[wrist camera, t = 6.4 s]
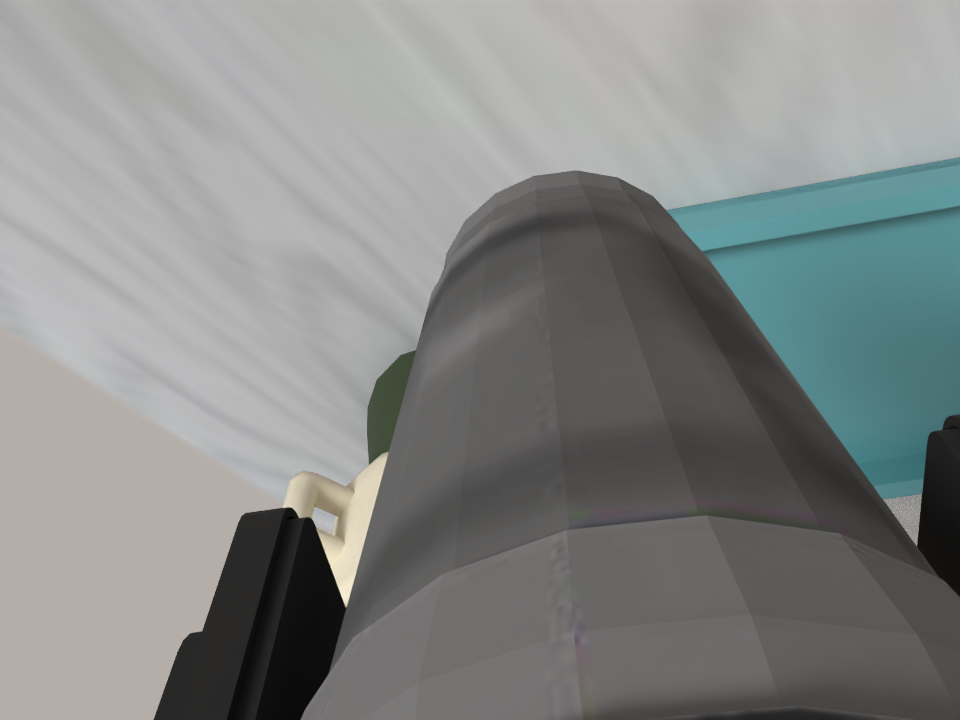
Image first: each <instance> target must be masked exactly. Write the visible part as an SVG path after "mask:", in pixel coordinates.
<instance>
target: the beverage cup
mask: <svg viewBox="0 0 960 720" xmlns="http://www.w3.org/2000/svg"><path fill="white" fill-rule="evenodd" d="M301 720H960V597H959V596H958V595H957V594H956V593H955V592H954V591H953V589H952V588H951V587H950V586H949V585H948V584H947V583H946V582H945V581H944V580H942V579H940V578H939V577H938V575H937V574H936V573H935V571H934V570H933V568H932V567H931V566H930V564H929V563H928V561H927V560H926V559H925V557H924V556H923V555H922V553H921V552H920V550H919V549H918V548H917V546H916V545H915V543H914V542H913V541H912V539H911V538H910V537H909V535H908V534H907V532H906V531H905V530H904V528H903V527H902V525H901V524H900V523H899V521H898V520H897V519H896V517H895V516H894V514H893V513H892V512H891V510H890V509H889V507H888V506H887V505H886V503H885V502H884V501H883V499H882V498H881V496H880V495H879V494H878V492H877V491H876V489H875V488H874V487H873V485H872V484H871V483H870V481H869V480H868V478H867V477H866V476H865V474H864V473H863V471H862V470H861V469H860V467H859V466H858V465H857V463H856V462H855V460H854V459H853V458H852V456H851V455H850V453H849V452H848V451H847V449H846V448H845V447H844V445H843V444H842V442H841V441H840V440H839V438H838V437H837V435H836V434H835V433H834V431H833V430H832V429H831V427H830V426H829V424H828V423H827V422H826V420H825V419H824V417H823V416H822V415H821V413H820V412H819V411H818V409H817V408H816V406H815V405H814V404H813V402H812V401H811V399H810V398H809V397H808V395H807V394H806V393H805V391H804V390H803V388H802V387H801V386H800V384H799V383H798V382H797V380H796V379H795V377H794V376H793V375H792V373H791V372H790V370H789V369H788V368H787V366H786V365H785V364H784V362H783V361H782V359H781V358H780V357H779V355H778V354H777V352H776V351H775V350H774V348H773V347H772V346H771V344H770V343H769V341H768V340H767V339H766V337H765V336H764V334H763V333H762V332H761V330H760V329H759V328H758V326H757V325H756V323H755V322H754V321H753V319H752V318H751V316H750V315H749V314H748V312H747V311H746V310H745V308H744V307H743V305H742V304H741V303H740V301H739V300H738V298H737V297H736V296H735V294H734V293H733V292H732V290H731V289H730V287H729V286H728V285H727V283H726V282H725V280H724V279H723V278H722V276H721V275H720V274H719V272H718V271H717V269H716V268H715V267H714V265H713V264H712V262H711V261H710V260H709V258H708V257H707V256H706V255H705V254H704V253H703V252H702V251H701V250H700V249H699V247H698V246H697V245H696V244H695V243H694V242H693V241H692V240H691V239H690V238H689V237H688V235H687V234H686V233H685V232H684V231H683V230H682V229H681V228H680V226H679V224H678V223H677V222H676V221H675V220H674V219H673V218H672V216H671V215H670V214H669V213H668V212H667V211H666V210H665V209H664V208H663V207H662V206H661V204H660V203H659V202H658V201H657V200H656V199H655V198H654V197H653V196H651V195H650V194H648V193H646V192H644V191H642V190H640V189H638V188H636V187H634V186H633V185H631V184H629V183H627V182H625V181H623V180H621V179H619V178H617V177H611V176H605V175H600V174H594V173H588V172H582V171H569V172H561V173H554V174H546V175H538V176H533V177H531V178H529V179H526V180H524V181H522V182H520V183H518V184H515V185H513V186H511V187H509V188H507V189H504V190H502V191H500V192H498V193H496V194H494V195H493V196H492V197H491V198H490V199H489V200H488V201H487V202H486V203H484V204H483V205H482V206H481V207H480V208H479V209H478V210H477V211H476V212H474V213H473V214H472V215H471V216H470V217H469V218H468V219H467V220H466V221H465V222H464V224H463V226H462V227H461V229H460V231H459V233H458V234H457V236H456V238H455V240H454V242H453V243H452V245H451V247H450V249H449V250H448V252H447V254H446V260H445V265H444V270H443V272H442V274H441V277H440V279H439V281H438V283H437V285H436V286H435V288H434V290H433V292H432V294H431V298H430V301H429V305H428V309H427V312H426V316H425V320H424V323H423V327H422V331H421V335H420V338H419V342H418V346H417V349H416V353H415V357H414V360H413V364H412V368H411V372H410V375H409V379H408V383H407V386H406V390H405V394H404V397H403V401H402V405H401V408H400V412H399V416H398V420H397V423H396V427H395V431H394V434H393V438H392V442H391V445H390V449H389V453H388V457H387V460H386V464H385V468H384V471H383V475H382V479H381V482H380V486H379V490H378V494H377V497H376V501H375V505H374V508H373V512H372V516H371V519H370V523H369V527H368V531H367V534H366V538H365V542H364V545H363V549H362V553H361V556H360V560H359V564H358V567H357V571H356V575H355V579H354V582H353V586H352V590H351V593H350V597H349V601H348V604H347V608H346V612H345V616H344V619H343V623H342V627H341V630H340V634H339V638H338V641H337V645H336V649H335V653H334V656H333V660H332V664H331V667H330V671H329V675H328V676H327V678H326V679H325V681H324V682H323V684H322V685H321V687H320V688H319V690H318V691H317V693H316V694H315V696H314V697H313V698H312V700H311V701H310V703H309V704H308V706H307V707H306V709H305V711H304V713H303V716H302V718H301Z"/></svg>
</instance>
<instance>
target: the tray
mask: <svg viewBox="0 0 960 720" xmlns="http://www.w3.org/2000/svg"><path fill="white" fill-rule="evenodd" d="M666 211H667V212H668V213H669V214H670V215H671V216H672V218H673V219H674V220H675V221H676V222H677V223H678V224H679V226H680V228H681V229H682V230H683V231H684V232H685V233H686V234H687V235H688V237H689V238H690V239H691V240H692V241H693V242H694V243H695V244H696V245H697V246H698V247H699V249H700V250H701V251H702V252H703V253H704V254H705V255H706V256H707V257H708V258H709V260H710V261H711V262H712V264H713V265H714V267H715V268H716V269H717V271H718V272H719V274H720V275H721V276H722V278H723V279H724V280H725V282H726V283H727V285H728V286H729V287H730V289H731V290H732V292H733V293H734V294H735V296H736V297H737V298H738V300H739V301H740V303H741V304H742V305H743V307H744V308H745V310H746V311H747V312H748V314H749V315H750V316H751V318H752V319H753V321H754V322H755V323H756V325H757V326H758V328H759V329H760V330H761V332H762V333H763V334H764V336H765V337H766V339H767V340H768V341H769V343H770V344H771V346H772V347H773V348H774V350H775V351H776V352H777V354H778V355H779V357H780V358H781V359H782V361H783V362H784V364H785V365H786V366H787V368H788V369H789V370H790V372H791V373H792V375H793V376H794V377H795V379H796V380H797V382H798V383H799V384H800V386H801V387H802V388H803V390H804V391H805V393H806V394H807V395H808V397H809V398H810V399H811V401H812V402H813V404H814V405H815V406H816V408H817V409H818V411H819V412H820V413H821V415H822V416H823V417H824V419H825V420H826V422H827V423H828V424H829V426H830V427H831V429H832V430H833V431H834V433H835V434H836V435H837V437H838V438H839V440H840V441H841V442H842V444H843V445H844V447H845V448H846V449H847V451H848V452H849V453H850V455H851V456H852V458H853V459H854V460H855V462H856V463H857V465H858V466H859V467H860V469H861V470H862V471H863V473H864V474H865V476H866V477H867V478H868V480H869V481H870V483H871V484H872V485H873V487H874V488H875V489H876V491H877V492H878V494H879V495H880V496H881V498H882V499H888V498H895V497H902V496H909V495H916V494H922V491H923V481H924V470H925V460H926V449H927V441H928V436H929V434H930V433H931V432H933V431H939V430H942V428H943V424H944V421H945V420H946V418H947V417H949V416H951V415H958V414H960V158H955V159H949V160H943V161H938V162H932V163H927V164H921V165H916V166H910V167H905V168H899V169H894V170H888V171H882V172H877V173H871V174H866V175H860V176H855V177H849V178H844V179H838V180H832V181H827V182H821V183H816V184H810V185H805V186H799V187H794V188H788V189H783V190H777V191H771V192H766V193H760V194H755V195H749V196H744V197H738V198H733V199H727V200H722V201H716V202H710V203H705V204H699V205H694V206H688V207H683V208H677V209H672V210H666Z"/></svg>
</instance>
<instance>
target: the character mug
mask: <svg viewBox="0 0 960 720" xmlns="http://www.w3.org/2000/svg"><path fill="white" fill-rule="evenodd" d="M415 353H416V350H415V351H412V352H409V353H406V354H403V355H401V356H400V357H399V358H398V359H397V360H396V361H395V362H394V363H393V364H392V365H391V366H390V367H389V368H388V369H387V370H386V371H385V372H384V373H383V374H382V375H381V376H380V377H379V378H378V379H377V381H376V384H375V387H374V390H373V393H372V396H371V399H370V402H369V405H368V417H367V438H368V453H369V466H368V467H367V468H366V469H364V470H363V471H362V472H361V473H360V474H359V475H358V476H357V477H356V478H355V479H354V480H353V481H352V482H350V483H349V484H348V485H347V487H346V486H344V485H341V484H339V483H337V482H335V481H332V480H330V479H328V478H326V477H324V476H321V475H319V474H317V473H312V472H307V471H303V472H301V473H298V474H296V476H295V477H294V478H293V479H292V480H291V481H290V483H289V487H288V490H287V494H286V498H285V501H284V505H283V508H286V507H291V508H293V509H294V510H295V511H296V513H297V515H298V517H299V518H304V517H310V518H311V519H312V515H313V510H314V506H315V507H317V508H319V509H322V510H324V511H326V512H328V513H331V514H333V515H335V516H336V518H335V523H334V528H333V533H332V534H329V533H327V532H325V531H322V530H320V529H318V528H316V529H317V532H318V534H319V537H320V540H321V542H322V545H323V548H324V550H325V553H326V556H327V559H328V561H329V564H330V567H331V569H332V572H333V575H334V577H335V580H336V583H337V585H338V588H339V591H340V593H341V596H342V599H343V601H344V604H345V607H346V608H347V604H348V601H349V597H350V593H351V590H352V586H353V582H354V579H355V575H356V571H357V567H358V564H359V560H360V556H361V553H362V549H363V545H364V542H365V538H366V534H367V531H368V527H369V523H370V519H371V516H372V512H373V508H374V505H375V501H376V497H377V494H378V490H379V486H380V482H381V479H382V475H383V471H384V468H385V464H386V460H387V457H388V453H389V449H390V445H391V442H392V438H393V434H394V431H395V427H396V423H397V420H398V416H399V412H400V408H401V405H402V401H403V397H404V394H405V390H406V386H407V383H408V379H409V375H410V372H411V368H412V364H413V360H414V357H415Z"/></svg>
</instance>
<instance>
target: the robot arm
mask: <svg viewBox="0 0 960 720" xmlns="http://www.w3.org/2000/svg"><path fill="white" fill-rule="evenodd" d="M917 548H918V549H919V550H920V552H921V553H922V555H923V556H924V557H925V559H926V560H927V561H928V563H929V564H930V566H931V567H932V568H933V570H934V571H935V573H936V574H937V575H938V577H939V578H940V579H942V580H944V581H945V582H946V583H947V584H948V585H949V586H950V587H951V588H952V589H953V591H954V592H955V593H956V594H957V595H958V596H959V597H960V414H958V415H951V416H949V417H947V418H946V420H945V421H944V424H943V428H942V430H939V431H933V432H931V433H930V434H929V436H928V441H927V449H926V460H925V470H924V481H923V491H922V502H921V512H920V522H919V533H918V543H917ZM345 612H346V607H345V604H344V601H343V599H342V596H341V593H340V591H339V588H338V585H337V583H336V580H335V577H334V575H333V572H332V569H331V567H330V564H329V561H328V559H327V556H326V553H325V550H324V548H323V545H322V542H321V540H320V537H319V534H318V532H317V529H316V526H315V524H314V522H313V520H312V519H311V518H310V517H304V518H299V517H298V515H297V513H296V511H295V510H294V509H293V508H291V507H286V508H279V509H272V510H265V511H257V512H251V513H245V514H244V515H243V516H242V517H241V519H240V521H239V523H238V526H237V529H236V532H235V535H234V538H233V541H232V544H231V547H230V550H229V553H228V556H227V559H226V562H225V565H224V568H223V571H222V574H221V577H220V580H219V583H218V586H217V589H216V592H215V595H214V598H213V601H212V604H211V607H210V610H209V613H208V616H207V619H206V622H205V625H204V628H203V631H202V632H195V633H191V634H189V635H188V636H187V637H186V638H185V639H184V640H183V642H182V644H181V646H180V648H179V651H178V652H177V656H176V658H175V661H174V664H173V667H172V670H171V672H170V675H169V678H168V681H167V684H166V686H165V689H164V692H163V695H162V698H161V700H160V704H159V706H158V709H157V712H156V715H155V718H154V720H301V718H302V716H303V713H304V711H305V709H306V707H307V706H308V704H309V703H310V701H311V700H312V698H313V697H314V696H315V694H316V693H317V691H318V690H319V688H320V687H321V685H322V684H323V682H324V681H325V679H326V678H327V676H328V675H329V671H330V667H331V664H332V660H333V656H334V653H335V649H336V645H337V641H338V638H339V634H340V630H341V627H342V623H343V619H344V616H345Z"/></svg>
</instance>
